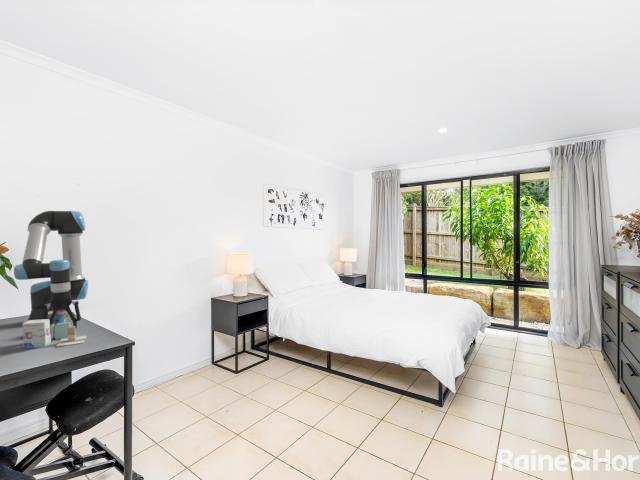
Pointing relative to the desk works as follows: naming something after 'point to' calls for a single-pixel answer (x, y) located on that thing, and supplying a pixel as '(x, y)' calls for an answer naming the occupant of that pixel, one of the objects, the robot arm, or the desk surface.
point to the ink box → (36, 333)
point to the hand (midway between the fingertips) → (63, 336)
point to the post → (71, 338)
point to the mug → (59, 317)
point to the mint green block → (61, 330)
